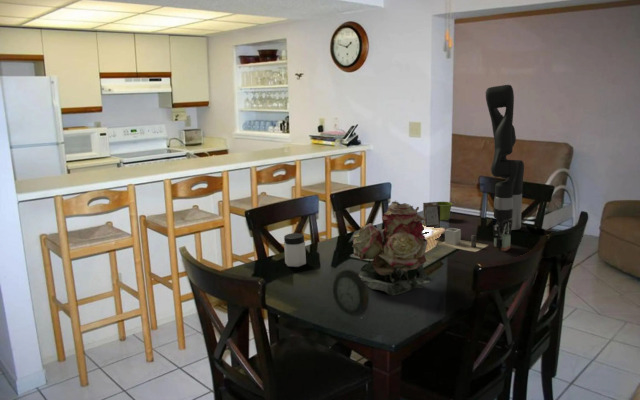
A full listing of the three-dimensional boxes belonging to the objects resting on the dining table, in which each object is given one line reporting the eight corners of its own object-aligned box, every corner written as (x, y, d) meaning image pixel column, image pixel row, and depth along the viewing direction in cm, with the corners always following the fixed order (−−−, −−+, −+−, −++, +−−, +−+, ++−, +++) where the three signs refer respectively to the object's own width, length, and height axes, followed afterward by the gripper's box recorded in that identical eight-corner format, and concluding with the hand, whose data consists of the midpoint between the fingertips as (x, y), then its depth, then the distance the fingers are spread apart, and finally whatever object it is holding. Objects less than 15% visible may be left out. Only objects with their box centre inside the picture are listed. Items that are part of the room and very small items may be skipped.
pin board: (451, 240, 238) (451, 227, 237) (488, 247, 226) (489, 233, 225) (437, 247, 230) (437, 233, 229) (475, 254, 218) (475, 240, 216)
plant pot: (441, 216, 282) (441, 200, 280) (455, 219, 275) (456, 203, 273) (430, 219, 276) (430, 203, 275) (444, 222, 269) (445, 206, 267)
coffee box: (440, 240, 240) (440, 205, 237) (426, 240, 240) (426, 206, 237) (436, 234, 249) (436, 201, 245) (422, 235, 249) (422, 202, 246)
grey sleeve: (450, 240, 235) (450, 227, 233) (460, 242, 231) (460, 229, 230) (444, 243, 231) (444, 230, 230) (455, 245, 228) (455, 231, 226)
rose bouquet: (345, 277, 199) (342, 200, 193) (412, 265, 209) (411, 191, 203) (376, 301, 176) (374, 215, 169) (449, 286, 186) (450, 204, 179)
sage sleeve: (499, 246, 228) (499, 232, 226) (510, 248, 224) (510, 234, 223) (493, 249, 224) (494, 235, 223) (505, 251, 221) (505, 237, 219)
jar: (283, 261, 220) (281, 234, 217) (302, 259, 222) (300, 231, 220) (288, 268, 212) (286, 239, 209) (307, 265, 214) (306, 237, 211)
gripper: (502, 202, 228) (501, 240, 231) (487, 209, 218) (486, 248, 221) (519, 204, 223) (517, 243, 226) (504, 211, 213) (503, 251, 216)
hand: (502, 245), depth 224 cm, fingers closed on sage sleeve, 5 cm apart
